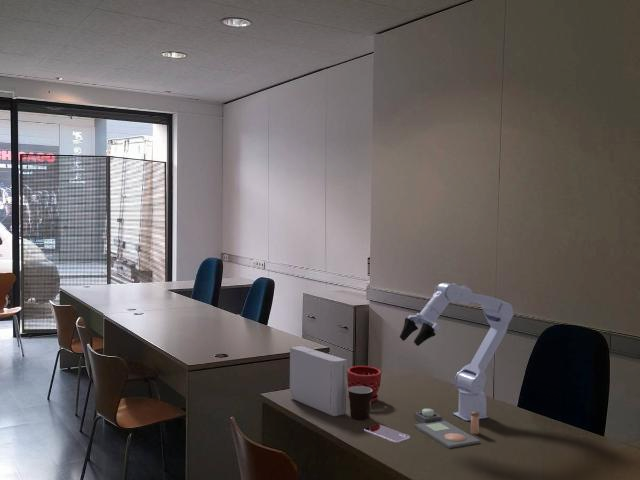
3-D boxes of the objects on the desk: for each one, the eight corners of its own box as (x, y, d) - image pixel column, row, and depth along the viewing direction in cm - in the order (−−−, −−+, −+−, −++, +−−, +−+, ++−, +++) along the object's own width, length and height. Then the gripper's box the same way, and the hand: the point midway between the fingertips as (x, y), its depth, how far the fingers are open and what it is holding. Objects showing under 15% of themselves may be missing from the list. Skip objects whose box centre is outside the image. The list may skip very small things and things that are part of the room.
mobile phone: (377, 422, 212) (411, 435, 201) (377, 425, 212) (411, 438, 201) (362, 428, 207) (396, 441, 196) (362, 430, 207) (396, 444, 196)
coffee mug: (364, 423, 213) (365, 394, 213) (343, 418, 218) (343, 390, 217) (379, 414, 223) (380, 386, 223) (358, 409, 228) (359, 382, 227)
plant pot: (341, 402, 235) (342, 372, 235) (353, 393, 247) (353, 364, 247) (374, 407, 230) (375, 376, 230) (384, 397, 242) (385, 367, 242)
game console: (333, 417, 219) (334, 362, 218) (289, 398, 240) (289, 347, 239) (346, 414, 223) (347, 359, 222) (300, 395, 244) (301, 345, 243)
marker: (475, 430, 208) (476, 410, 207) (480, 433, 205) (481, 413, 205) (468, 431, 207) (469, 411, 206) (473, 434, 204) (474, 413, 204)
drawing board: (443, 422, 215) (443, 419, 215) (480, 442, 197) (480, 440, 197) (414, 426, 211) (414, 424, 211) (448, 448, 192) (448, 445, 192)
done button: (429, 414, 220) (429, 408, 220) (435, 418, 216) (436, 411, 216) (419, 416, 218) (420, 409, 218) (426, 419, 215) (426, 412, 215)
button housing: (430, 415, 222) (430, 410, 222) (441, 422, 216) (441, 416, 215) (413, 418, 219) (414, 412, 219) (424, 424, 213) (424, 418, 213)
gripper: (412, 299, 216) (389, 329, 212) (440, 307, 203) (416, 338, 199) (423, 312, 219) (400, 342, 215) (450, 321, 206) (427, 352, 202)
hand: (408, 341), depth 207 cm, fingers open, 7 cm apart
